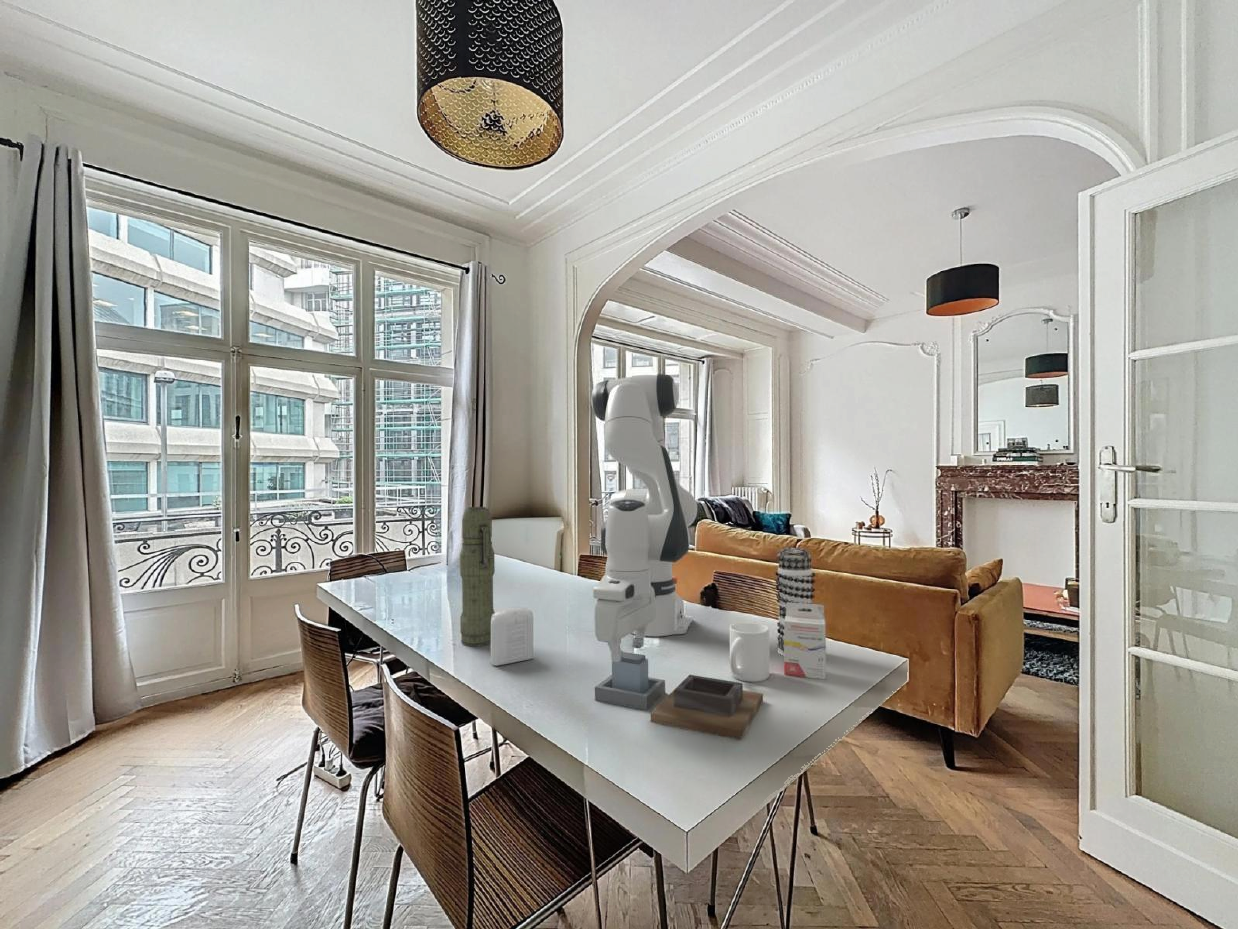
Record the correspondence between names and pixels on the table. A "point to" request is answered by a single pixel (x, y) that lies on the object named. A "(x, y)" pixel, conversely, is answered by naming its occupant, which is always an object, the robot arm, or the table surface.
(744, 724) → the dock
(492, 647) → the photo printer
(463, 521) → the thermos
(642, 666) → the plug
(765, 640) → the mug
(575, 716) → the table surface
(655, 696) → the grey rectangular frame
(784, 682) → the table surface
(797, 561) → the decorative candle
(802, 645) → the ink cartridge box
